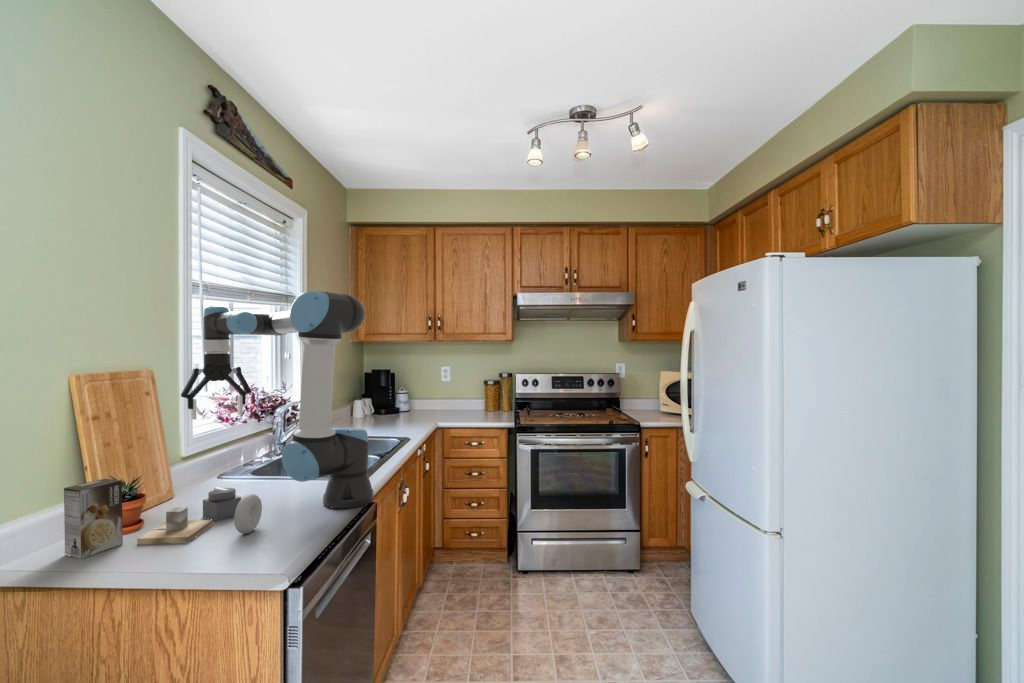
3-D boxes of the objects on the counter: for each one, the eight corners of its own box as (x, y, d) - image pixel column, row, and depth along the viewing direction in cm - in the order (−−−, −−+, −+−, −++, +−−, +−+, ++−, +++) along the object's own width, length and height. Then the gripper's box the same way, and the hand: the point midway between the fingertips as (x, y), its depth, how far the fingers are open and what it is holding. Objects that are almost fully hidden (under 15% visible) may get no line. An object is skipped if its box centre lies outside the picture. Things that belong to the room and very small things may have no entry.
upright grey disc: (244, 540, 125) (244, 500, 125) (231, 540, 125) (231, 500, 125) (264, 525, 135) (264, 488, 135) (251, 525, 135) (251, 488, 135)
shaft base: (212, 525, 135) (212, 501, 135) (188, 542, 123) (188, 516, 123) (166, 526, 134) (166, 502, 134) (137, 544, 122) (137, 518, 122)
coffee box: (106, 541, 125) (106, 477, 125) (123, 544, 122) (123, 479, 122) (63, 555, 116) (63, 487, 116) (80, 559, 114) (80, 490, 114)
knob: (241, 514, 144) (241, 487, 144) (216, 521, 138) (216, 493, 138) (227, 510, 148) (227, 484, 148) (202, 517, 142) (202, 490, 142)
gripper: (253, 352, 176) (253, 411, 176) (169, 353, 158) (170, 419, 158) (261, 352, 171) (261, 413, 170) (175, 353, 153) (175, 422, 153)
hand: (217, 416), depth 164 cm, fingers open, 13 cm apart
